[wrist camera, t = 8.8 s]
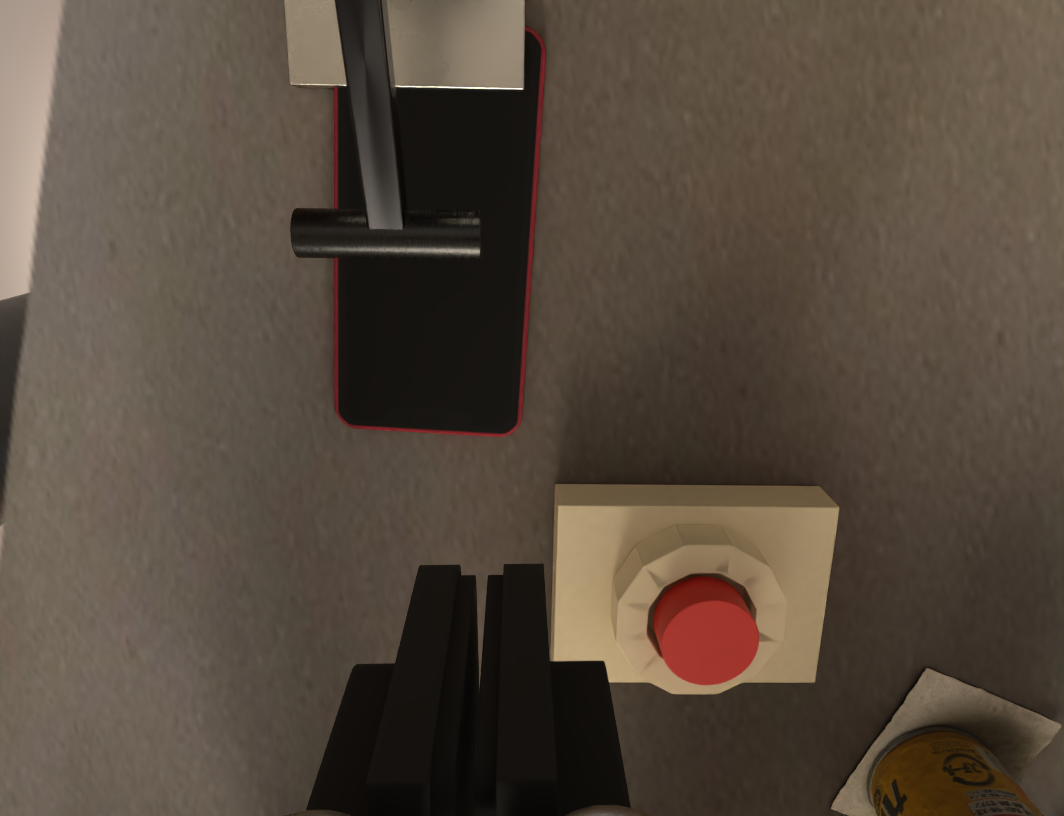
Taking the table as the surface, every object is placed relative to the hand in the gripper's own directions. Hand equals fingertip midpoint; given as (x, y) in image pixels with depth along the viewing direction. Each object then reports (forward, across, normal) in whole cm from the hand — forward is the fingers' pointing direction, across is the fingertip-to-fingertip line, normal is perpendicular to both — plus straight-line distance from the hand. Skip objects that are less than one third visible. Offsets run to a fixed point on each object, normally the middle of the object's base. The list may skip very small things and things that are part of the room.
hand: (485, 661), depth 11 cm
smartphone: (+22, +3, -4) cm, 22 cm away
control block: (+21, -7, +10) cm, 25 cm away
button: (+18, -7, +10) cm, 22 cm away
